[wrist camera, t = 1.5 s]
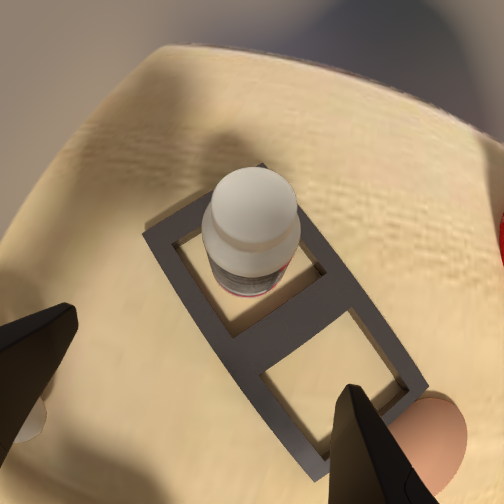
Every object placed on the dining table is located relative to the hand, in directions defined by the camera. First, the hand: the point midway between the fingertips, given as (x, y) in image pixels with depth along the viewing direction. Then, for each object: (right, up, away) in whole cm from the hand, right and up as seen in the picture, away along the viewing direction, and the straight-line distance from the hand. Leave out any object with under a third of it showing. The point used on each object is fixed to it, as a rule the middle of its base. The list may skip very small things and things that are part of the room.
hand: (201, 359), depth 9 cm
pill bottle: (+1, +2, +15) cm, 15 cm away
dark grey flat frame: (+4, -2, +13) cm, 14 cm away
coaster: (+15, -13, +10) cm, 22 cm away
